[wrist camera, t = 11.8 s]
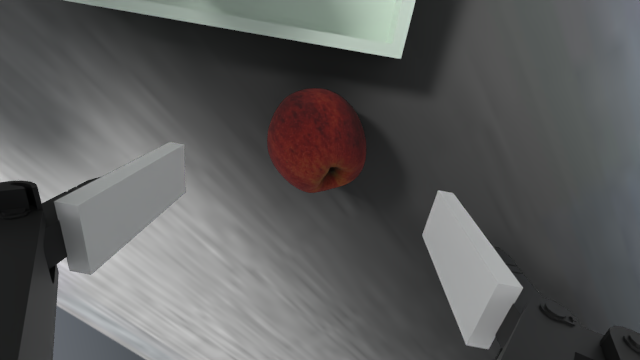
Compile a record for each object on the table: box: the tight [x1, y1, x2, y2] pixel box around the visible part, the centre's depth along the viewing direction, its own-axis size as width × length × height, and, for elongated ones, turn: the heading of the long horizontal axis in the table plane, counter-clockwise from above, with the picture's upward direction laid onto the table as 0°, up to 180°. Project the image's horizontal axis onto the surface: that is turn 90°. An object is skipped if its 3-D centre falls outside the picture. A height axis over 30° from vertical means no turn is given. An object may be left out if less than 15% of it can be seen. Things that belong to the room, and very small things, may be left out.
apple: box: [267, 88, 366, 193], centre depth 23 cm, size 7×8×8 cm
